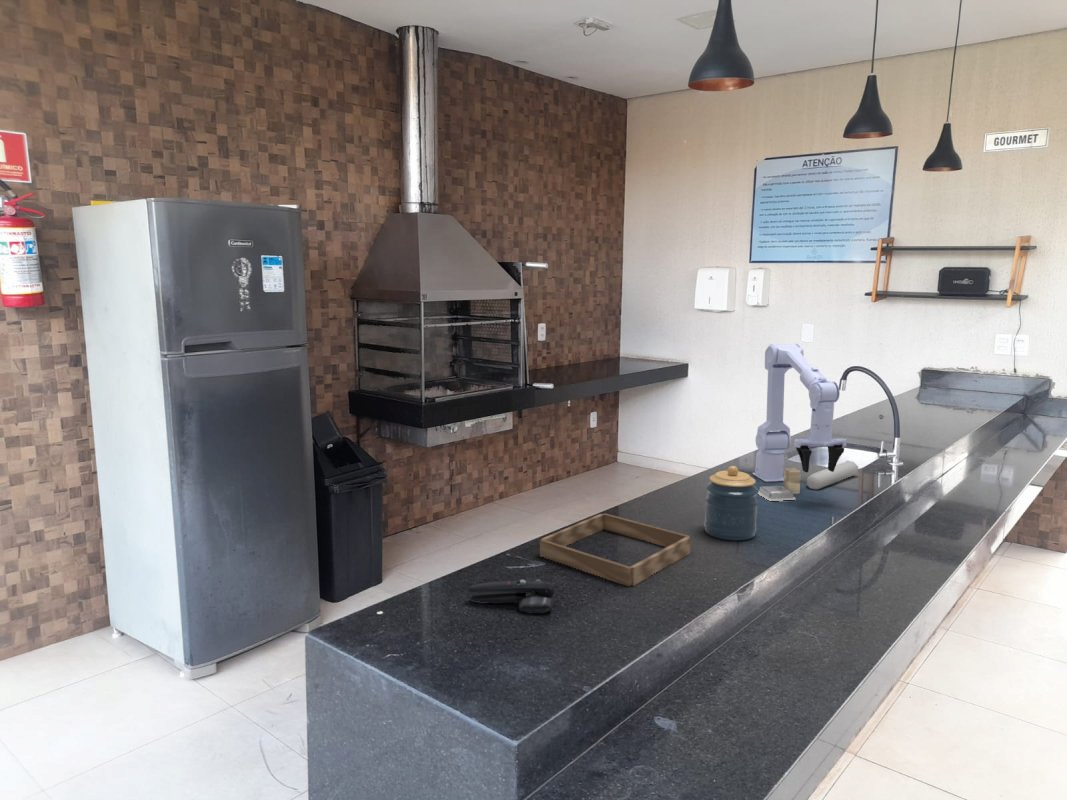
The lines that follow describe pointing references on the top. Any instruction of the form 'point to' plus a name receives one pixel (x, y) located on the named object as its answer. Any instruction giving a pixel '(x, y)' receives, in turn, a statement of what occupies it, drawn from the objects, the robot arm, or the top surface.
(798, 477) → the wooden block
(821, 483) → the tube
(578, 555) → the wooden frame
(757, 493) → the tile
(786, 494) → the white square tray
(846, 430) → the top surface
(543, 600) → the can opener
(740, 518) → the canister
